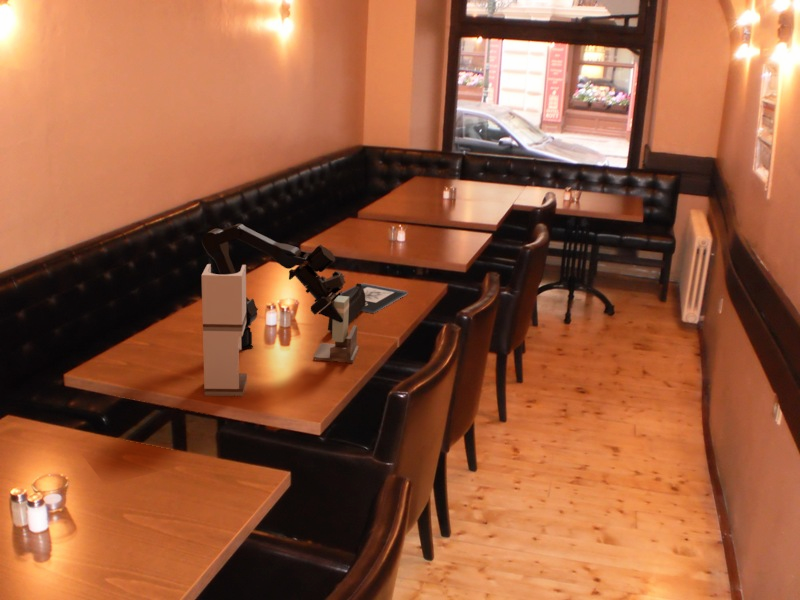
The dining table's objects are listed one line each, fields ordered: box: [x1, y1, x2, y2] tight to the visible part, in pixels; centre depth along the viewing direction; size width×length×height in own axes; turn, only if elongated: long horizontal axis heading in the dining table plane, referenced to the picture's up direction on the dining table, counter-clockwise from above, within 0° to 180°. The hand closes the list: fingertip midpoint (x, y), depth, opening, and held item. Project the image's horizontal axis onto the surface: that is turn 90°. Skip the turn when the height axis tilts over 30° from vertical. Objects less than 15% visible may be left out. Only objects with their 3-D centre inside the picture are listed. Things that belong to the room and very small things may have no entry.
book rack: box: [313, 324, 360, 364], centre depth 272 cm, size 12×13×8 cm
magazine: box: [327, 282, 366, 332], centre depth 303 cm, size 17×3×30 cm
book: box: [331, 296, 349, 342], centre depth 267 cm, size 4×6×13 cm, turn 170°
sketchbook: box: [342, 282, 409, 314], centre depth 332 cm, size 22×30×2 cm
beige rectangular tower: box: [201, 263, 248, 397], centre depth 239 cm, size 11×11×35 cm
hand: (344, 318), depth 267 cm, fingers closed on book, 6 cm apart
